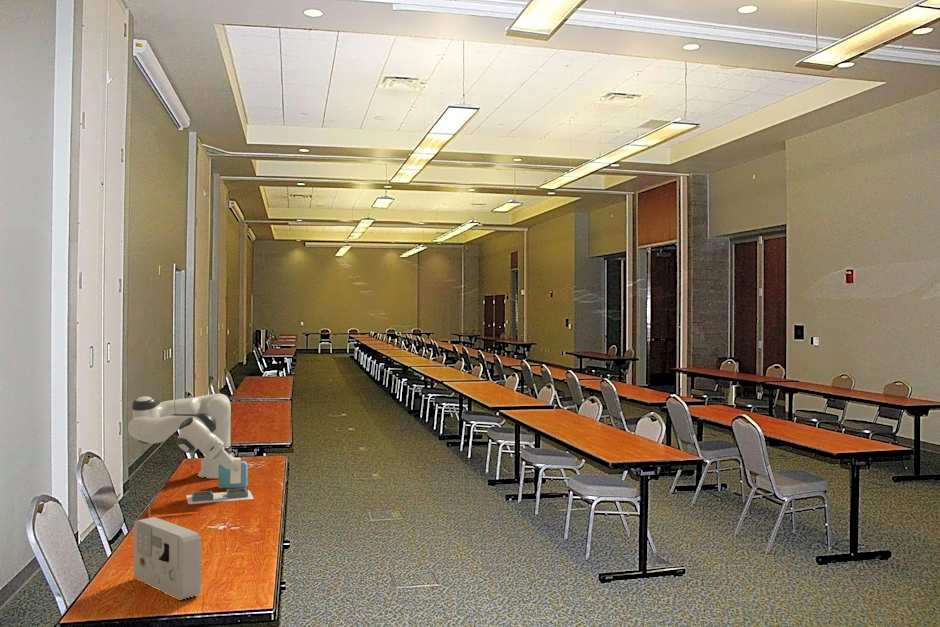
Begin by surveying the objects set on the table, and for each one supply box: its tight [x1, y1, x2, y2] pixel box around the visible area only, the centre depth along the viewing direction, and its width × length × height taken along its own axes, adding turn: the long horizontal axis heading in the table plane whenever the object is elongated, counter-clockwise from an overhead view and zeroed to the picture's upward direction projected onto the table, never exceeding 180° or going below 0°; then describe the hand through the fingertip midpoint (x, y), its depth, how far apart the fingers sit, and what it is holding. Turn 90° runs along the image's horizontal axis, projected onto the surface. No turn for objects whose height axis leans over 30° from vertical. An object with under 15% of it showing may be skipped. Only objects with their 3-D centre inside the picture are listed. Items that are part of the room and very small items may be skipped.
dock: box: [186, 487, 255, 505], centre depth 326 cm, size 16×26×3 cm, turn 113°
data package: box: [217, 460, 249, 489], centre depth 345 cm, size 12×4×12 cm, turn 98°
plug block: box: [230, 457, 242, 484], centre depth 328 cm, size 4×4×10 cm
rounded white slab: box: [132, 516, 202, 601], centre depth 222 cm, size 29×8×18 cm, turn 50°
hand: (237, 469), depth 328 cm, fingers closed on plug block, 4 cm apart
